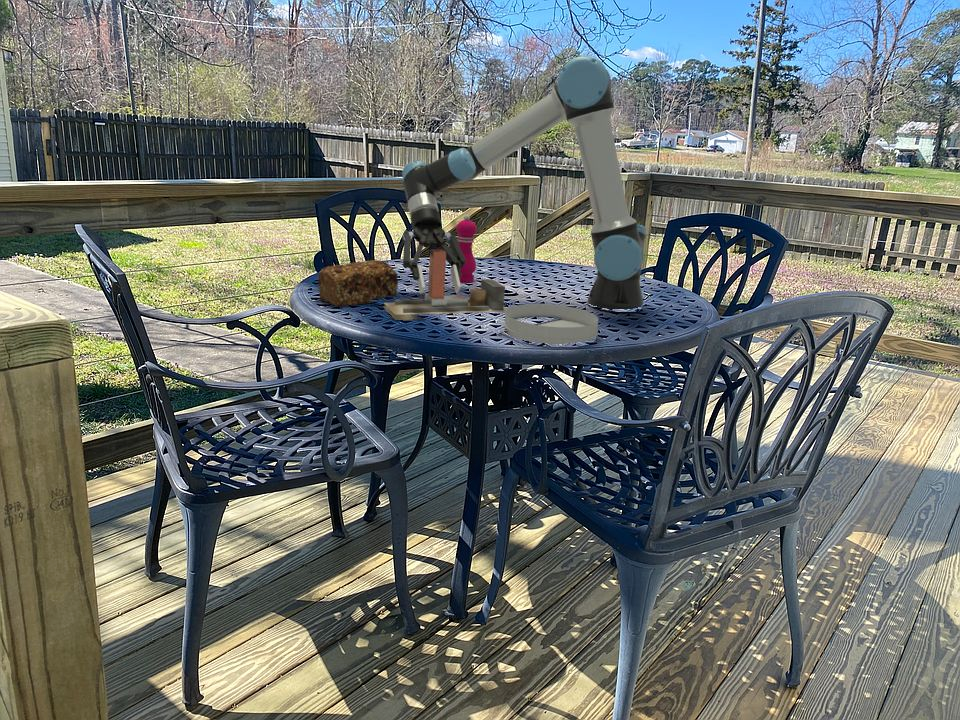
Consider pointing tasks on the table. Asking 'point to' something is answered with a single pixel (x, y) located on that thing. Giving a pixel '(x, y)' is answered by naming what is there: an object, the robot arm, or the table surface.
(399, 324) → the table surface
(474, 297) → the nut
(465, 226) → the pepper mill
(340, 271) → the bread
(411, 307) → the board
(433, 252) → the carriage
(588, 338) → the dish
